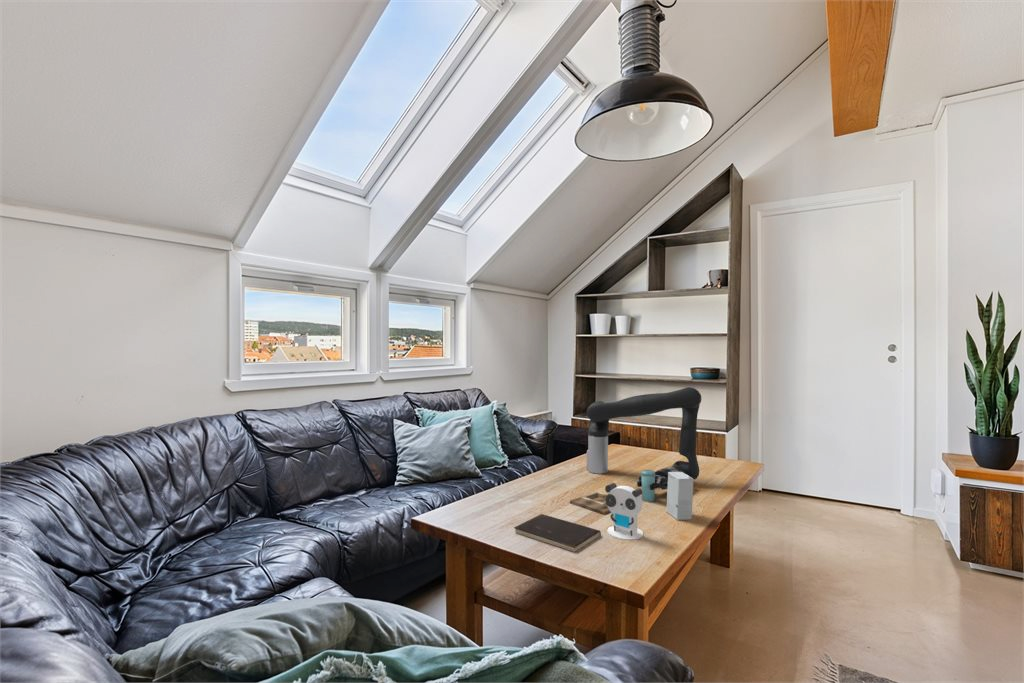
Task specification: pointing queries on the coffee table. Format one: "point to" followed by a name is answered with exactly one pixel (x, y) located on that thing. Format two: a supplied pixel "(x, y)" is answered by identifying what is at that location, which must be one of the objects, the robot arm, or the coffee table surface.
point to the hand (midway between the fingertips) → (644, 485)
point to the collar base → (593, 502)
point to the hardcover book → (558, 532)
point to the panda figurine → (624, 511)
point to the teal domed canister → (648, 485)
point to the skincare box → (679, 495)
